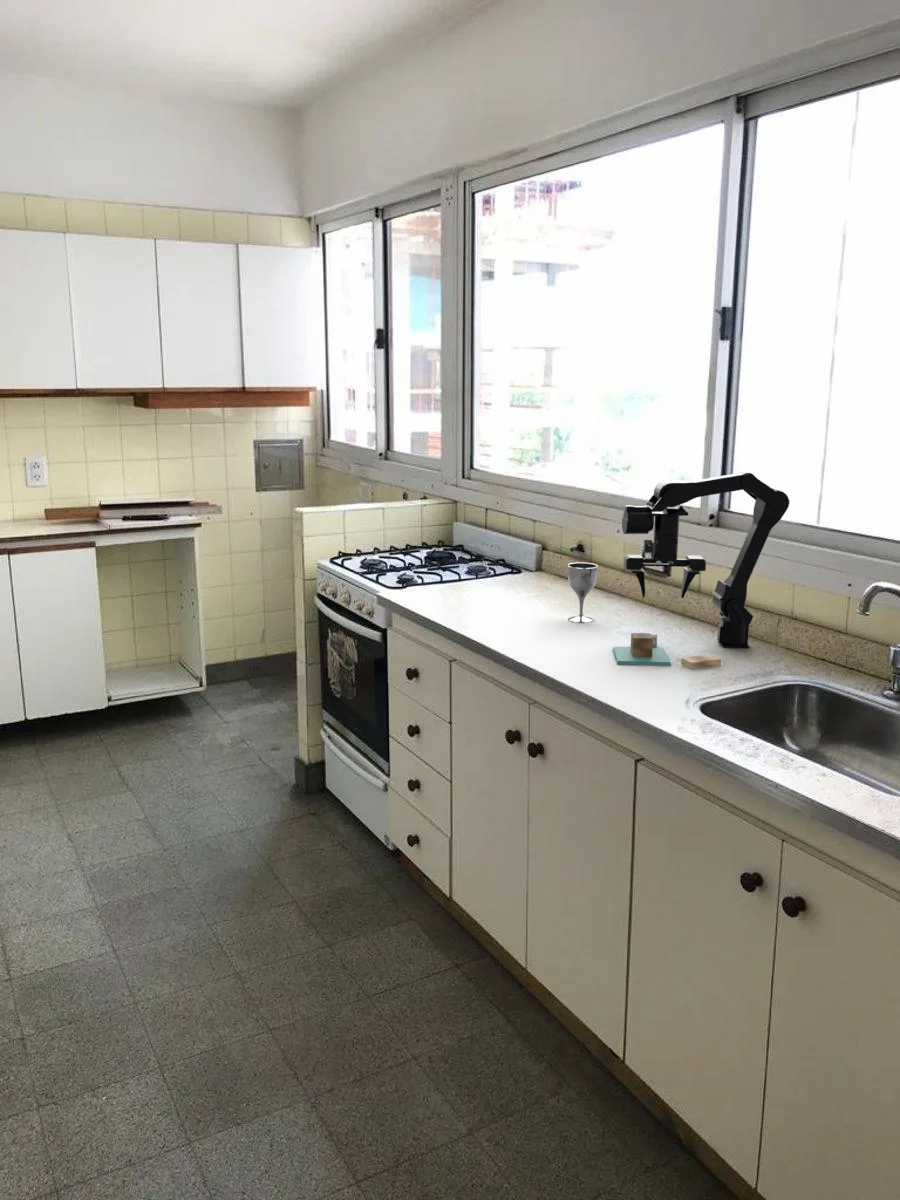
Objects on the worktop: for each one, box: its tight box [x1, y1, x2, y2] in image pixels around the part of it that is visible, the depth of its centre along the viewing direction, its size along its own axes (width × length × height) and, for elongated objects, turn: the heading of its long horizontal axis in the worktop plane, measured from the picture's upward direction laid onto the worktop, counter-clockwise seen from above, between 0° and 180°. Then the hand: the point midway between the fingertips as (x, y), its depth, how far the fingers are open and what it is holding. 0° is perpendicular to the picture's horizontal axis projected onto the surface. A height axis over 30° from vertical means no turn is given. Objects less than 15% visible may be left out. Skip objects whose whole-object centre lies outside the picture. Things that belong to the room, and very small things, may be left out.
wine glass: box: [567, 562, 599, 624], centre depth 262 cm, size 8×8×15 cm
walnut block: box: [630, 632, 653, 657], centre depth 228 cm, size 4×4×4 cm
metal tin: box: [634, 631, 658, 648], centre depth 238 cm, size 6×6×3 cm
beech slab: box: [680, 653, 722, 670], centre depth 223 cm, size 8×4×2 cm, turn 110°
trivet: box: [612, 646, 672, 666], centre depth 229 cm, size 12×12×1 cm
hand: (662, 597), depth 237 cm, fingers open, 9 cm apart
